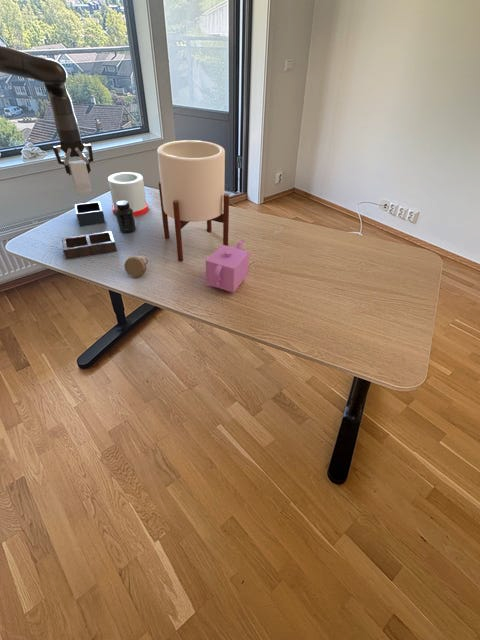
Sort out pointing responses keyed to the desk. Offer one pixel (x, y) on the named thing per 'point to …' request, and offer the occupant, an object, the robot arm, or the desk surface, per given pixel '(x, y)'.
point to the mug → (136, 265)
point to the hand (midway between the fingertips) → (79, 173)
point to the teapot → (227, 267)
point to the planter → (192, 186)
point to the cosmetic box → (80, 177)
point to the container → (128, 191)
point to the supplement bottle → (125, 217)
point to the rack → (88, 245)
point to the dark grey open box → (89, 214)
